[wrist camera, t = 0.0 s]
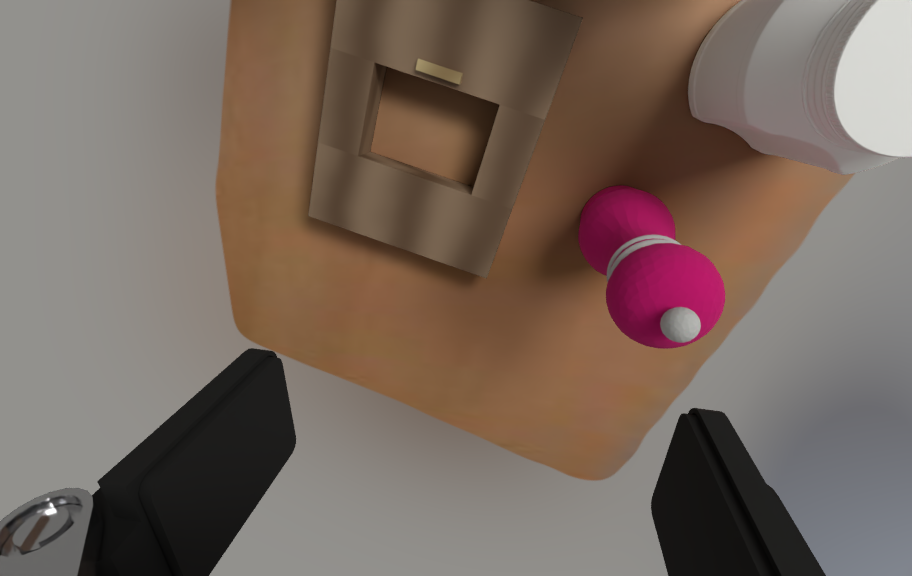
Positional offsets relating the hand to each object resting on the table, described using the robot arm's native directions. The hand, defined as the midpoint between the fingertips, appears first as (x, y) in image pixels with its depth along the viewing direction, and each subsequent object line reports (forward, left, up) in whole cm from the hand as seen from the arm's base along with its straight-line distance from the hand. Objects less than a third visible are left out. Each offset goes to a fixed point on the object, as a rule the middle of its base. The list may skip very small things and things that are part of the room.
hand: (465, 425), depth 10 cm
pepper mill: (+3, +9, -31) cm, 33 cm away
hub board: (-4, -8, -31) cm, 32 cm away
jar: (-9, +18, -31) cm, 37 cm away
